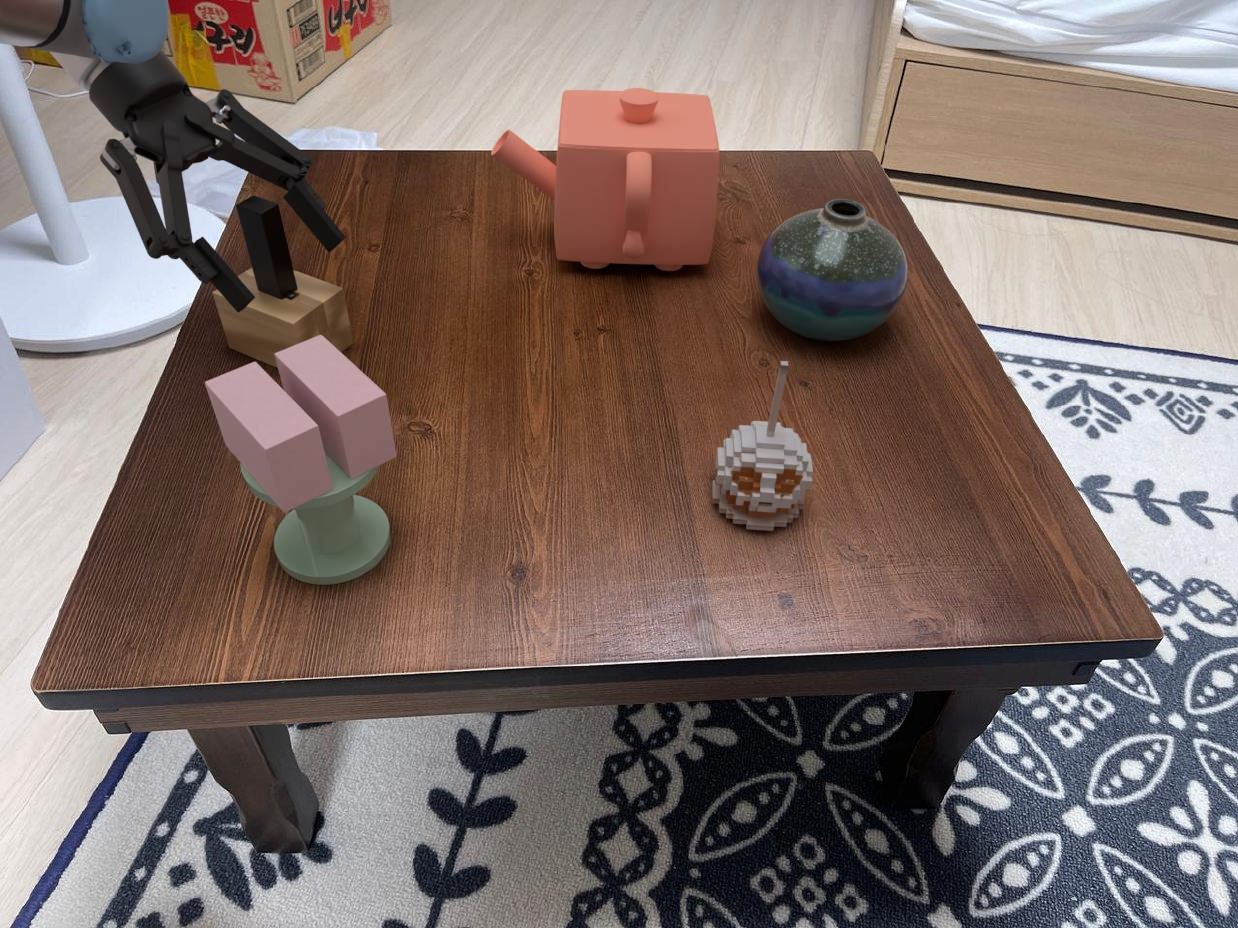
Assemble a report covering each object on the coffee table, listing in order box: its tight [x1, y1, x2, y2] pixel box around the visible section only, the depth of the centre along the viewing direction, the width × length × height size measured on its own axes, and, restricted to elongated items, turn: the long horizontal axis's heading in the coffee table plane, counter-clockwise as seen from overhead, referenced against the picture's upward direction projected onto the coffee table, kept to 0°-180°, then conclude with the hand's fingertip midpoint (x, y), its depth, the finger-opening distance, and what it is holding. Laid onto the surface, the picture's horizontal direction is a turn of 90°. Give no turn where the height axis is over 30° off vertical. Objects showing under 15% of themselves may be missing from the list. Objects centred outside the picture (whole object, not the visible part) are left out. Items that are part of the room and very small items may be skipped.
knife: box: [235, 194, 298, 300], centre depth 89 cm, size 2×4×16 cm, turn 62°
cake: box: [204, 335, 397, 514], centre depth 67 cm, size 9×9×6 cm
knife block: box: [212, 267, 354, 369], centre depth 92 cm, size 7×10×7 cm
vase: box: [756, 198, 909, 342], centre depth 97 cm, size 15×15×13 cm
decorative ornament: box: [711, 360, 814, 532], centre depth 76 cm, size 8×8×15 cm
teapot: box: [490, 87, 720, 272], centre depth 105 cm, size 25×23×18 cm
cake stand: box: [239, 451, 392, 586], centre depth 72 cm, size 10×10×10 cm
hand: (294, 274), depth 87 cm, fingers open, 11 cm apart
